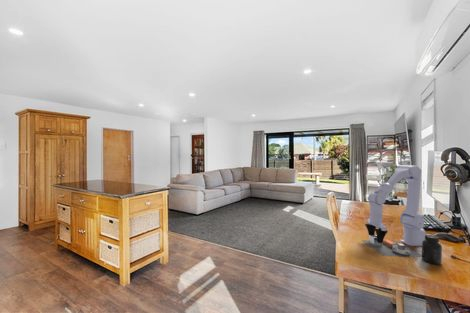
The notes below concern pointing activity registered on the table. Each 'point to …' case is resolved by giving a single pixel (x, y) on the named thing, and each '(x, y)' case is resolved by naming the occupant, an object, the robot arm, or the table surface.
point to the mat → (388, 251)
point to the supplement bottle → (432, 250)
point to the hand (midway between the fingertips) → (375, 239)
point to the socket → (374, 240)
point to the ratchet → (397, 248)
